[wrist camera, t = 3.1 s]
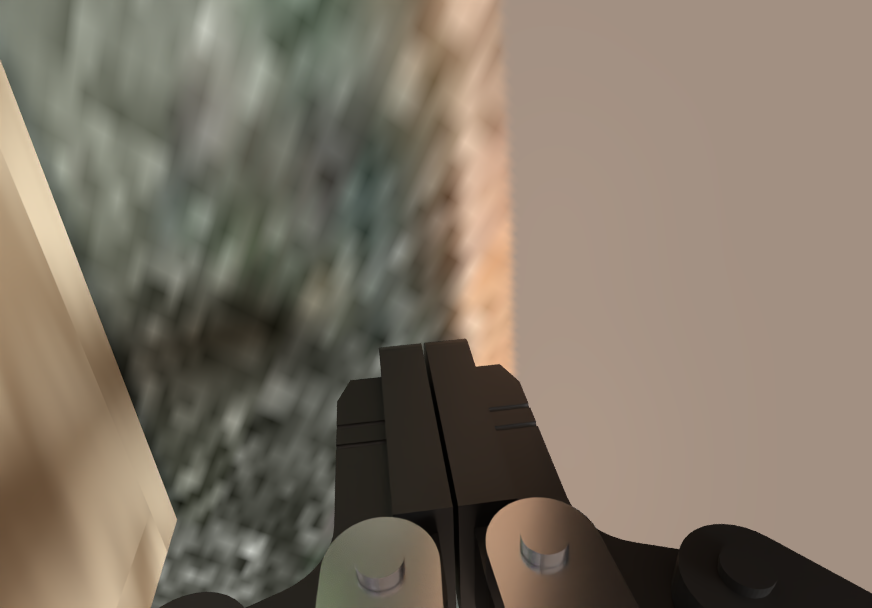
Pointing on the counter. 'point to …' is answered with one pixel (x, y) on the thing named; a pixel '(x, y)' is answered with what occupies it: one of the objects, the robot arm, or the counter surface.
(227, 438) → the counter surface
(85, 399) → the open wooden box
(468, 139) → the counter surface
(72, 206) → the counter surface
